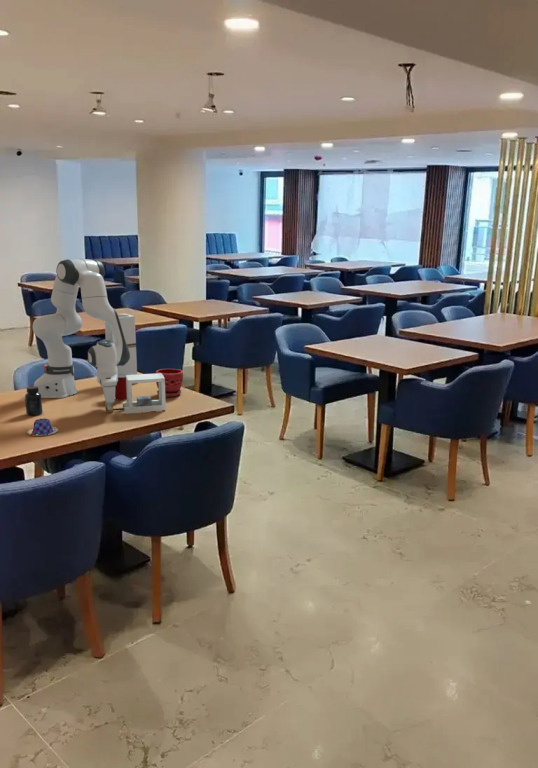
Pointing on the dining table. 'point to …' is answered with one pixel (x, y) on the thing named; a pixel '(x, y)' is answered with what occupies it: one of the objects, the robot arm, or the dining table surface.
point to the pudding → (42, 427)
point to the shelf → (156, 404)
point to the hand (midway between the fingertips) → (109, 408)
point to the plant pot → (171, 386)
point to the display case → (130, 338)
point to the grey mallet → (140, 402)
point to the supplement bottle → (33, 401)
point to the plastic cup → (121, 386)
